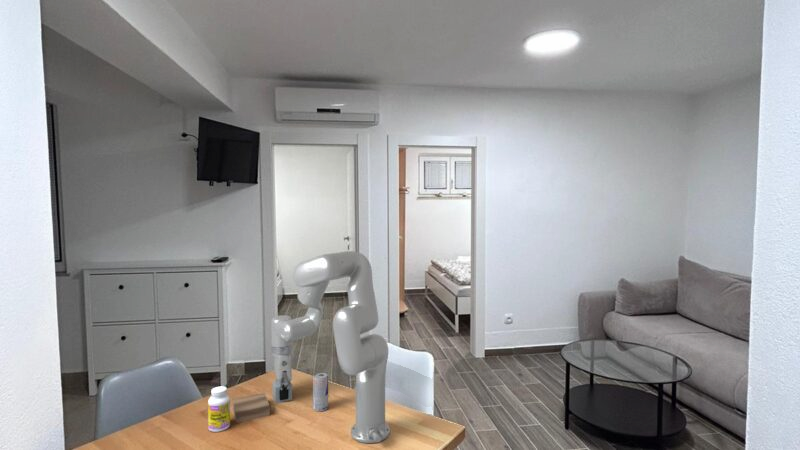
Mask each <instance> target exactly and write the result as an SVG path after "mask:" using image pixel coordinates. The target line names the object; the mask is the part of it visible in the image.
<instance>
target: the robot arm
mask: <svg viewBox="0 0 800 450" xmlns="http://www.w3.org/2000/svg"><path fill="white" fill-rule="evenodd" d="M343 278H349V281H348V284H347V297H348V305H347V306H344V307H343V306H342V307H341V308H339V309H338V310H337V311H336V313H335V314H334V317H333V320H332V330H333V337H334V342H335V350H336V355H337V360H338V364H339V367H340V368H341V370H342V371H343V372H344V373H345V374H346V375H349V376H355V423H354V424H353V425H352V426H351V429H350V436H351V437H352V438H353V439H354V440H355V441H357V442H360V443H363V444H375V443H380V442H383V441H384V440H386V439H387V438H388V437H389V436H390V433H391V428H390V426H389V424H388V423H387V422H386V372H387V363H388V359H389V346H388V341H386V339H385V337H383V336H382V335H379V334H376V333H375V334H374V333H372V334H368V335H365V336H362V337H361V335H362V334H365V333H368V332H369V331H372V330H374V329H375V328H377V326H378V323H379V313H378V306H377V300H376V295H375V294H376V293H375V289H374V282H373V270H372V266H371V263H370V261H369V259H368V258H367V256H366V255H365V254H363V253H360V252H357V251H354V250H353V251H352V250H351V251H350V250H349V251H347V250H345V251H339V252H332V253H325V254H321V255H318V256H316V257H315V256H314V257H313V258H310V259H307V260H304V261H300V262H299V263H298V264H297V265H296V266H295V267H294V269H293V272H292V279H293V282H294V284H295V285H296V286H297V287H298V288H299V290H298V292H297V300H298V301H299V303H301V304H303V305H304V306H306V307H308V308H307V311H306V313H305V315H303V316H300V317H297V318H293V319H292V317H291V316H289V315H276V316H274V317H272V319H271V323H270V324H271V328H270V329H271V331H270V332H271V355H272V356H273V357H274V359H273V361H274V366H273V367H274V375H275V378H276V380H275V381H278V382H280V390H279V393H280V400H286V399H288V398H289V390H288V379H289V380H290V382H291V381H292V380H293V377H292V376H293V373H292V359H291V357H292V356H291V354H292V353H293V342H296V341H298V340H300V339H302V338H303V339H304V338H306V337H308V336H311V335H313V334H314V333H315V332H316V331H317V330H318V328H319V326H320V324H321V322H322V320H323V316H324V314H323V313H324V310H323V305H322V302H321V301H322V300H323V297H324V294H325V293H326V290H327V288H328V286H329V283H330V281H334V280H340V279H343ZM281 380H283V381H281ZM283 382H284V383H283ZM282 383H283V385H282Z"/></svg>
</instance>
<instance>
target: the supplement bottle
mask: <svg viewBox="0 0 800 450" xmlns="http://www.w3.org/2000/svg"><path fill="white" fill-rule="evenodd" d="M227 389H228V388H227V387H226V386H224V385H220V386H216V387H212V388H211V391H210V392H211V393H210V394H211V396H210V397H209V398H208V401H207V426H208V427H207V429H208V431H210V432H214V433H219V432H222V431H224V430H225V431H226V430H227V429H229V427H230V426H231V397H230V395H229V394H227V392H228V390H227Z"/></svg>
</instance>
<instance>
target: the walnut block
mask: <svg viewBox="0 0 800 450" xmlns="http://www.w3.org/2000/svg"><path fill="white" fill-rule="evenodd" d="M269 403H270V402H269V401H268V398H267V396H266V394H265V392H262V393H258V394H257V393H256V394H252V395H248V396H247V395H246V396H242V397H237V398H236V397H235V398H232V411H233V416H234V420H235V423H236V424H238V423H244V422H247V421H252V420H257V419H261V418H262V419H263V418H267V417H269V416H270V413H271V412H270V411H271V410H270V408H271V407H270V404H269Z"/></svg>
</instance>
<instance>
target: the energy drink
mask: <svg viewBox="0 0 800 450" xmlns="http://www.w3.org/2000/svg"><path fill="white" fill-rule="evenodd" d="M328 408H329V376H328V374H327V373H326V372H318V373H315V374H314V375H313V377H312V409H313V410H314V411H315V412H319V413H320V412H324V411H326V410H327V409H328Z"/></svg>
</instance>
